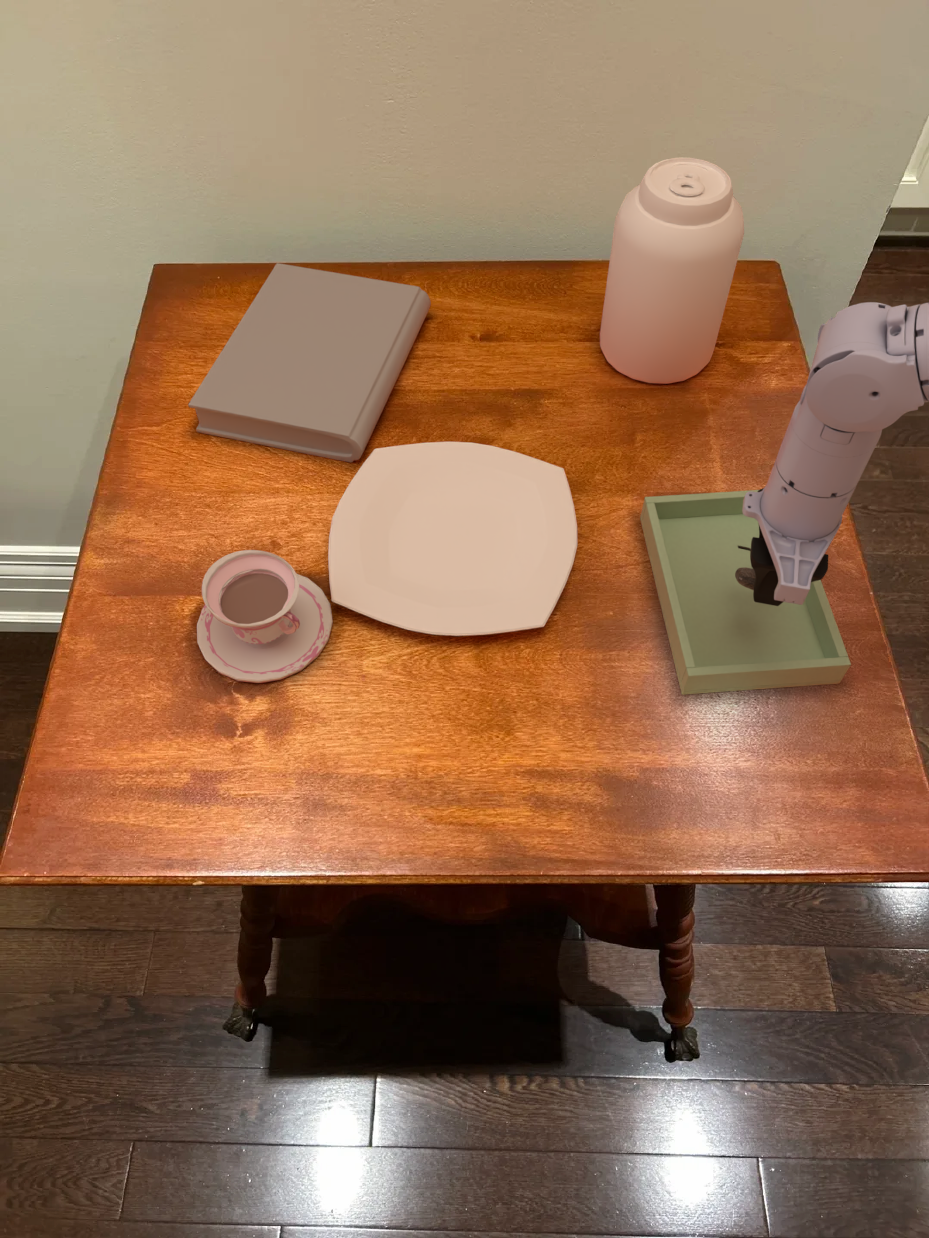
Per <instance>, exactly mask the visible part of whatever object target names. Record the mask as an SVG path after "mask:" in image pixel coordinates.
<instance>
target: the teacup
mask: <svg viewBox="0 0 929 1238" xmlns="http://www.w3.org/2000/svg"><path fill="white" fill-rule="evenodd" d="M201 596H202V599H203V602H204V605H203V606H202V608H201V611H200V615H199V617H198V621H197V623H196V640H197V641H196V643H197V645H198V647H199V650H200V651H201V654H202V656H203V658H204V660H205V661H206V663H208V665H210V666H211V667H212V668H213V669H214V670H216V672H217V673H218V674H221V675H223V676H225V677H228V678H230V679H232V680H234V681H237V682H245V683H252V684H253V683H254V684H263V683H268V682H274V681H280V680H283V679H285V678H287V677H290V676H292V675H294V674H297V673H299V672H301V671H302V670H304V669H305V668H306V667H308V666H309V665H310V664H311V663H313V661H315V660H316V659H317V658H318V657H319V656H320V654H321V653H322V651H323V650H324V648H325V646H326V645H327V644H328V642H329V640H330V636H331V632H332V628H333V624H334V622H333V613H332V606H331V602H330V601H329V599H328V597H327V596H326V594H325V592H324V591H323V589H322V588H321V587H319V585H317V584H316V583H315V582H314V581H312V580H311V579H310V578H308V577H307V576H304V575H302V574H299V573H297V572H296V570H295V569H294V567H293V566H292V565H291V564H290V563H289V562H288V561H287V560H286V559H284V558H283V557H282V556H279V555H277V554H275V553H273V552H270V551H266V550H259V549H244V550H238V551H234V552H232V553H228V554H226V555H224V556H222V557H220V558H219V559H217V560H216V561H214V563H212V564H211V565H210V566H209V568H208V569H207V570H206V572H205V574H204V576H203V579H202V582H201Z"/></svg>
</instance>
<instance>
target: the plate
mask: <svg viewBox="0 0 929 1238" xmlns="http://www.w3.org/2000/svg"><path fill="white" fill-rule="evenodd" d="M328 534H329V536H328V551H327V560H328V563H327V564H328V578H329V580H328V581H329V588H330V597H331V602H332V603H333V604H336V605H339V606H341V607H343V608H346V609H349V610H350V611H353V612H354V613H357V614H360V615H363V616H364V617H367V618H370V619H373V620H375V621H378V622H380V623H383V624H385V625H388V626H389V625H390V626H393V627H396V628H399V629H402V630H406V631H409V632H415V633H420V634H426V635H431V636H445V637H473V636H489V635H497V634H498V635H499V634H506V633H514V632H520V631H526V630H527V631H528V630H533V629H534V630H535V629H541V628H544V627H545V625H546V623H547V622H548V620H549V618H550V616H551V614H552V613H553V611H554V609H555V607H556V605H557V603H558V602H559V599H560V597H561V595H562V592H563V591H564V589H565V587H566V584H567V581H568V579H569V576H570V574H571V571H572V568H573V565H574V561H575V557H576V554H577V549H578V522H577V516H576V508H575V504H574V500H573V496H572V492H571V488H570V484H569V480H568V478H567V475H566V472H565V468H563V467H561V466H558V465H555V464H552V463H549V462H547V461H544V460H542V459H538V458H537V457H536V458H535V457H533V456H529V455H527V454H523V453H521V452H517V451H514V450H511V449H507V448H503V447H498V446H495V445H491V444H484V443H477V442H468V441H467V442H466V441H432V442H431V441H429V442H427V441H426V442H419V443H409V444H400V445H392V446H386V447H385V446H384V447H378V448H374V449H373V450H372V452H371V453H370V454H369V456H368V457H367V458H366V459H365V461H364V462H363V463H362V465H361V466H360V467H359V469H358V470H357V472H356V473H355V474H354V476H353V478H352V479H351V480H350V482H349V483H348V485H347V487H346V489H345V490H344V493H342V496H341V497H340V499H339V501H338V503H337V505H336V508H335V510H334V513H333V515H332V517H331V524H330V529H329V533H328Z"/></svg>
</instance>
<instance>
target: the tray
mask: <svg viewBox="0 0 929 1238" xmlns="http://www.w3.org/2000/svg"><path fill="white" fill-rule="evenodd" d="M759 490H760V489H750V490H749V489H748V490H747V489H746V490H733V491H718V492H717V491H716V492H702V493H701V492H700V493H687V494H671V495H669V494H668V495H656V496H644V498H643V504H642V508H641V512H640V517H639V521H640V525H641V528H642V529H641V530H642V532H643V537H644V542H645V546H646V551H647V554H648V558H649V562H650V566H651V571H652V576H653V579H654V584H655V588H656V592H657V596H658V601H659V605H660V609H661V613H662V617H663V622H664V626H665V630H666V634H667V639H668V643H669V646H670V651H671V655H672V659H673V663H674V668H675V673H676V677H677V680H678V685H679V690H680V693H681V695H696V694H697V695H698V694H711V693H725V692H739V691H740V692H741V691H752V690H767V689H768V690H769V689H782V688H796V687H810V686H822V685H823V686H824V685H837V684H841V682H842V680H843V678H844V677H845V675H846V674H847V672H848V670H849V668H851V666H852V662H851V660H850V657H849V655H848V652H847V648H846V646H845V643H844V641H843V638H842V635H841V632H840V629H839V627H838V624H837V621H836V618H835V615H834V612H833V610H832V607H831V604H830V601H829V599H828V595H827V593H826V591H825V587H824V585H823V582H822V579H821V580H818V581H814V582H811V585H810V590H809V592H808V594H807V596H806V598H805V600H804V602H803V604H802V605H800V604H794V603H787V602H783V603H782V604H780V605H779V606H774V605H768V604H763V603H758V602H755V601H754V598H753V592H754V590H751V589H749V588H746V587H744V586H742V585H741V584H739V583H738V581H737V580H736V577H735V573H736V570H737V569H738V568H745V567H746V568H751V569H753V568H752V566H751V560H750V552H751V551H749V550H744V549H740V548H738V545H739V546H743V547H748V548H751V541H752V538H753V537H757V538H759V524H758V521H757V520H756V519H755V518H751V517H747V516H745V515H744V514H743V512H742V508H743V500H744V497H745V494H746V493H747V492H750V491H753V492H758V491H759Z"/></svg>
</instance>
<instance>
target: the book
mask: <svg viewBox="0 0 929 1238" xmlns="http://www.w3.org/2000/svg"><path fill="white" fill-rule="evenodd" d="M431 305H432V302H431V298H430V296H429V294H428V293H427V292H426V291H425V290H423V289H422V288H421V287H420V286H417V285H411V284H405V283H401V282H400V283H399V282H394V281H388V280H381V279H376V278H368V277H364V276H357V275H352V274H346V273H339V272H333V271H328V270H322V269H316V268H309V267H303V266H297V265H292V264H285V263H281V262H280V263H279V262H277V263H276V264H275V265H274V267H273V269H272V270H271V272H270V274H269V275H268V277H267V278H266V280H265V281H264V283H263V284H262V286H261V288H260V289H259V291H258V292H257V294H256V296H255V297H254V298H253V300H252V302H251V304H250V305H249V307H248V308H247V310H246V311H245V313H244V315H243V316H242V318H241V320H240V321H239V322H238V324H237V325H236V328H235V329H234V331H233V332H232V334H231V335H230V337H229V339H228V340H227V342H226V344H225V345H224V346H223V348H222V350H221V351H220V353H219V354H218V356H217V358H216V359H215V361H214V362H213V364H212V366H211V367H210V369H209V370H208V372H207V374H206V375H205V376H204V378H203V380H202V382H201V383H200V385H199V386H198V388H197V390H196V391H195V392H194V394H193V396H192V397H191V399H190V401H189V403H188V404H187V406H188V407H189V408H192V409H194V410H195V413H196V417H197V419H198V420H197V421H198V425H197V426H196V429H195V431H196V432H197V433H200V434H206V435H210V436H215V437H221V438H226V439H231V440H236V441H241V442H244V443H245V442H246V443H251V444H255V445H260V446H267V447H270V448H276V449H281V450H286V451H291V452H295V453H301V454H307V455H310V456H311V455H312V456H316V457H320V458H321V457H322V458H326V459H330V460H336V461H341V462H346V463H354V461H359V460H360V459H361V458H362V456H363V455H364V452H365V450H366V447H367V445H368V443H369V441H370V439H371V437H372V434H373V432H374V430H375V428H376V425H377V424H378V422H379V420H380V417H381V415H382V413H383V411H384V408H385V407H386V404H387V402H388V400H389V398H390V396H391V393H392V391H393V390H394V387H395V384H396V383H397V380H398V378H399V376H400V374H401V372H402V369H403V367H404V365H405V363H406V360H407V358H408V356H409V354H410V353H411V350H412V347H413V345H414V343H415V341H416V339H417V337H418V335H419V332H420V330H421V328H422V326H423V323H424V322H425V319H426V317H427V315H428V312H429V311H430V308H431Z"/></svg>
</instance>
